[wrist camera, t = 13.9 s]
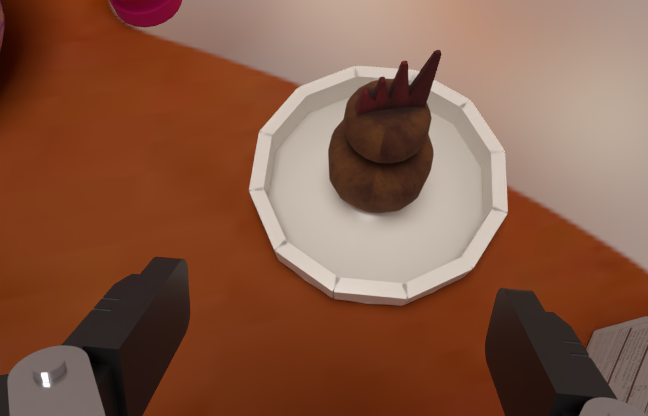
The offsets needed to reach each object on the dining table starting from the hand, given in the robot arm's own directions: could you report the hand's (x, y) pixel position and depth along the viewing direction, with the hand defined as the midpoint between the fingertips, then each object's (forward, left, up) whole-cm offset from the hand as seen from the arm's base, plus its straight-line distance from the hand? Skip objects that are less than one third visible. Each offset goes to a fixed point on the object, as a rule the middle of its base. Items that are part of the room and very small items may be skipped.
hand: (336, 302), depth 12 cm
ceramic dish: (+2, +13, -21) cm, 25 cm away
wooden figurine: (+2, +13, -21) cm, 25 cm away
